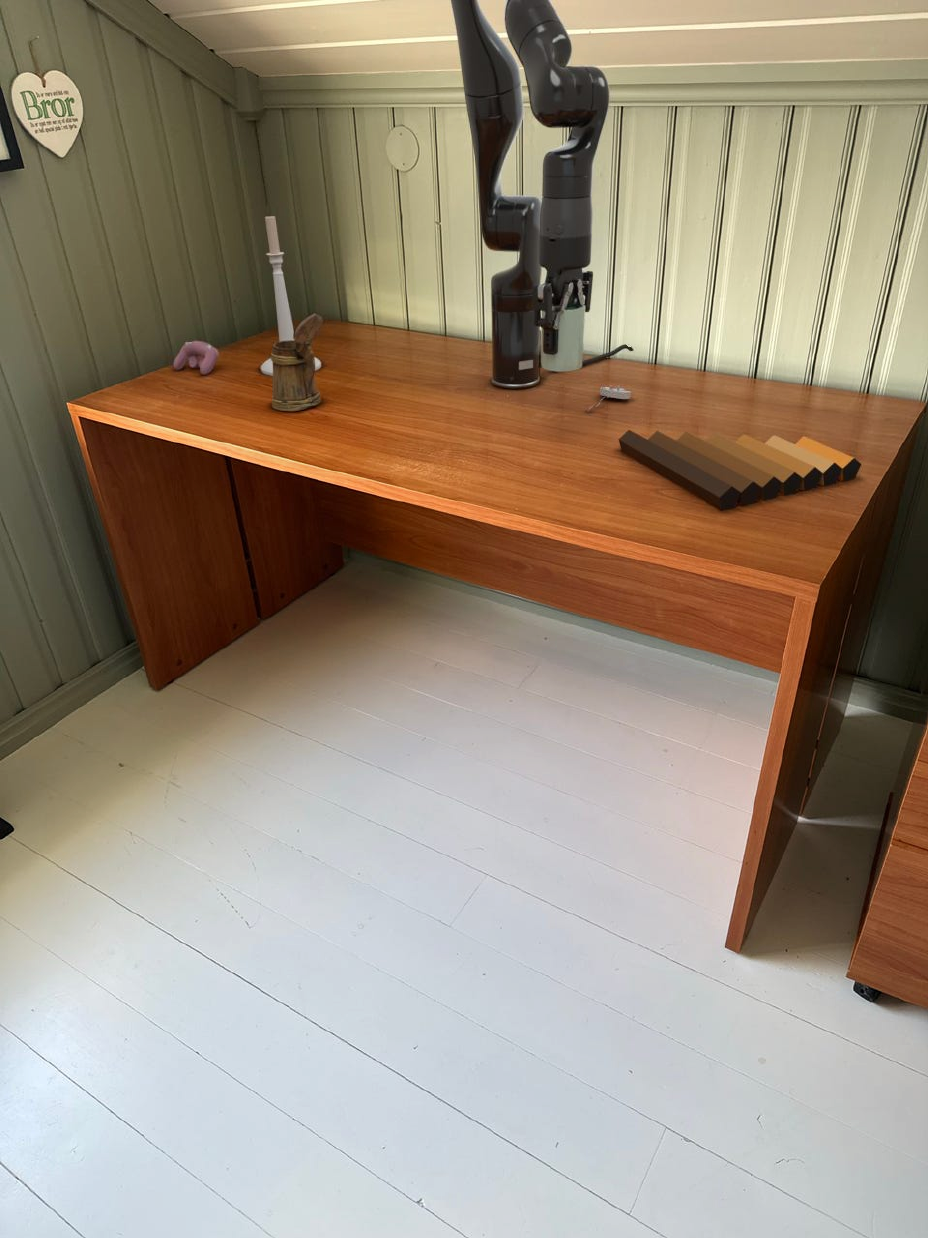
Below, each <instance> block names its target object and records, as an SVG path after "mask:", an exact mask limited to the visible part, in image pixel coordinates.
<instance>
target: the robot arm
mask: <svg viewBox="0 0 928 1238" xmlns="http://www.w3.org/2000/svg"><path fill="white" fill-rule="evenodd" d="M450 5H451V10H452V16H453V21H454V26H455V31H456V38H457V45H458V53H459V60H460V67H461V75H462V84H463V85H462V86H463V91H464V92H463V94H464V99H465V106H466V114H467V118H468V125H469V129H470V134H471V135H470V136H471V140H472V146H473V147H472V148H473V154H474V163H475V170H476V172H475V173H476V182H477V183H476V184H477V195H478V196H477V197H478V209H479V210H478V211H479V222H480V223H479V224H480V230H481V236H482V239H483V243H484V245H485V247H487V249H488V250H490V251H492V252H493V251H494V252H507V253H519V255H518V261H517V263H516V264H514V265H513V266H511V267H509V268H507V269H504V270H501V271H498V272H496V273H494V274H493V275H492V277H491V280H490V297H491V298H490V299H491V301H490V303H491V304H490V305H491V308H490V309H491V366H492V367H491V368H492V372H491V373H492V375H491V376H492V377H491V384H492V385H493V386H497V387H499V388H502V389H526V388H531V387H534V386H537V385H538V384H540V379H541V371H542V370H541V369H542V367H541V331H542V328H543V352H544V353H545V354H550V355H555V354H557V353H558V332H559V329H557V328H558V326H559V322H560V315H561V314H563V313H564V310H566V307H567V308H568V307H575V308H576V309H577V308H578V307H579V306H581V304H584V305H585V313H589V312H590V311H591V305H592V292H593V281H594V272H593V271H592V270H583V269H585V268H588V267H589V266H590V264H591V261H592V259H591V258H592V242H593V241H592V240H593V219H594V218H593V217H594V216H593V215H594V212H593V196H592V195H593V180H594V163H595V159H596V155H597V152H598V149H599V144H600V140H601V138H602V134H603V130H604V126H605V123H606V119H607V116H608V112H609V107H610V100H611V99H610V98H611V96H610V94H611V93H610V86H609V82H608V79H607V77H606V74H605V73H604V71H603V70H602V69H601V68H599V67H598V66H594V65H569V63H570V62H571V58H572V54H573V44H572V40H571V37H570V35H569V33H568V31H567V29H566V27H565V26H564V24H563V21H562V20H561V18H560V16H559V14H558V13H557V10H556V9H555V6H554V5H553V3H552V2H551V0H506V1H505V6H504V14H503V15H504V26H505V27H504V28H505V31H506V34H507V38H508V41H509V42H510V45H511V47H512V49H513V51H514V52H515V54H516V56H517V58H518V60H519V62H520V64H521V66H522V68H523V72H524V77H525V82H526V87H527V92H528V99H529V100H528V101H529V106H530V110H531V113H532V115H533V117H534V118H535V119H536V121H537V122H538V123H539V124H541V125H542V126H543V127H546V128H549V129H565V128H566V129H567V128H570V131H569V134H568V137H567V140H566V141H565V143H564V144H563V145H561V146H559V147H558V146H557V147H555V148H552V149H550V150H548V151H547V152H546V153H545V155H544V156H543V159H542V185H541V186H542V188H541V189H542V195H541V196H542V197H541V199H540V197H538V196H535V195H513V194H512V195H511V194H510V195H504V193H503V187H502V175H503V168H504V166H505V162H506V160H507V157H508V155H509V153H510V150H511V148H512V146H513V144H514V142H515V140H516V138H517V136H518V133H519V131H520V128H521V126H522V122H523V118H524V113H525V112H524V110H525V109H524V97H523V87H522V86H523V85H522V75H521V70H520V66H519V64H518V61H517V59H516V57H515V56H514V54H513V53H512V51H511V49H510V48H509V47H508V46H507V44H506V43H505V42H504V40H503V39H502V38H501V37H500V35H499V34H498V33H497V31H496V30H495V29H494V27H493V26H492V25H491V23H490V22H489V20H488V18H487V17H486V15H485V13H484V12H483V9H482V8H481V6H480V3H479V0H450ZM543 268H544V269H545V270H546V276H545V279H544V283H541V282H542V272H543ZM555 306H557V307H555ZM542 311H543V316H542ZM552 312H555V315H554V319H553V320H552ZM626 344H627V343H625V344H621V345H619V346H618V347H616V348H614V349H613V350H611V351H608V352H606V353H601V354H600V355H597V356H594V357H590V358H587V359H583V362H582V366H585V365H588V364H592V363H595V362H598V361H601V360H604V359H606V358H610V357H612V356H615V355H616V354H618V353H620V352H621V351H623V350H625V349H626V350H627V351H629V352H634V351H635V350H634V348H633V347H632V346H631V347H628V346H627V345H626ZM553 372H554V373H559V372H558V371H553Z"/></svg>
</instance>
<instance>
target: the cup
mask: <svg viewBox="0 0 928 1238" xmlns="http://www.w3.org/2000/svg"><path fill="white" fill-rule="evenodd" d="M555 307H557V306H555ZM554 315H555V312H552V320H553V319H554ZM542 316H543V311H541V317H542ZM585 318H586V312H585V305H584V303H583V304H581V306H579V307H578V308H577V309H576V308H575V307H568V308H567V307H566V310H564V313H563V314H561V315H560V322H559V326H558V328H557V329H559V332H558V353H557V354H555V355H550V354H545V353H544V352H543V328H541V369H543V370H546V371H551V372H554V371H558V372H557V373H561V372H562V373H563V372H574V371H577V370H580V369H582V367H583V365H582V362H583V360H584V342H585V320H586V319H585Z"/></svg>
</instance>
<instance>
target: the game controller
mask: <svg viewBox="0 0 928 1238" xmlns="http://www.w3.org/2000/svg"><path fill="white" fill-rule="evenodd" d="M616 387H617V388H612V384H611V385H609V386H601V387H600V390H599V395H600V396H603V397H602V398H601V399H600V401H599V403H598V404H597V405H596V406H595V405H594V407H595V408H596V407H598V406H599V405H600V404H601V403H602V400H603V399H604V398H606V399H607V398H613V399H621V400H629V399H631V394H632V391H629V390H625V388H620V385H619V384H618V385H617V386H616ZM590 409H592V406H590V407H589V408H588V411H587V413H590Z"/></svg>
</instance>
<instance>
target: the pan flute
mask: <svg viewBox="0 0 928 1238" xmlns="http://www.w3.org/2000/svg"><path fill="white" fill-rule="evenodd" d="M618 442H619V446H620V447H619V448H620V451H621V453H623V454H625V455H627V456H628V457H630V458H632V459H633V460H635V461H637V462H638V463H640V464H641V465H644V466H646V467H647V468H648V469H651V470H652V471H653V472H655V473H657V474H658V475H661V476H662V477H663V478H666V479H667V480H669V481H670V482H672V483H674V484H675V485H677V486H679V487H680V488H683V489H684V490H685V491H687V492H689V493H691V494H693V495H694V496H696V497H698V498H699V499H701V500H702V501H704V502H705V503H708V504H709V505H711V506H713V507H714V508H716V509H718V510H719V511H721V512H722V511H726V510H731V509H735V508H736V506H737V504H739V505H741V506H747V505H752V504H756V503H757V501H758V499H760V500H762V501H768V500H772V499H773V500H774V499H776V498H778V495H779V494H780V495H782V496H784V497H785V496H790V495H793V494H797V493H798V491H799V489H800V490H801V491H804V492H806V491H810V490H813V489H817V488H818V486H819V485H820V486H823V487H827V486H830V485H835V484H837V482H838V480H839V481H841V482H847V481H850V480H851V481H852V480H855V479H856V477H857V475H858V473H859V471H860V468H861V466H862V463H861V461H859V460H857V459H856V458H855V457H854V456H851V455H849V454H847V453H844V452H842V451H840V450H837V449H835V448H832V447H830V446H828V445H826V444H823V443H821V442H819V441H816V440H815V439H811V438H809V437H807V436H802V437H801V438H800V439H799V440H798V441H797V442H796V443H793V442H790V441H788V440H786V439H784V438H781V437H780V436H777V435H775V434H773V435H772V436H771V437H770V438H769V439H767V441H765V442H762V441H760V440H758V439H756V438H754V437H753V436H752V437H751V436H750V435H747V434H745V433H743V434H742V435H741V436H739V438H738V439H737V440H736V441H732V440H731V439H728V438H726V437H724V436H722V435H720V434H718V433H716V432H714V433H713V434H711V436H710V437H709V438H707V439H706V440H703V439H702V438H699V437H697V436H695V435H694V434H692V433H690V432H687V431H685V432H683V434H681V436H680V437H679V438H677V440H676V439H674V438H672V437H670V436H668V435H666V434H664V433H662V432H660V431H659V430H656V431H655V432H654V433H653V434H652V435H651V436H650V437H649V438H648V439H647V438H645V437H643V436H641V435H639V434H638V433H636V432H634V431H632V430H631V429H628V430H627V431H626V432H625V433H624V434H622V435H621V437H620V438H619V439H618Z"/></svg>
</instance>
